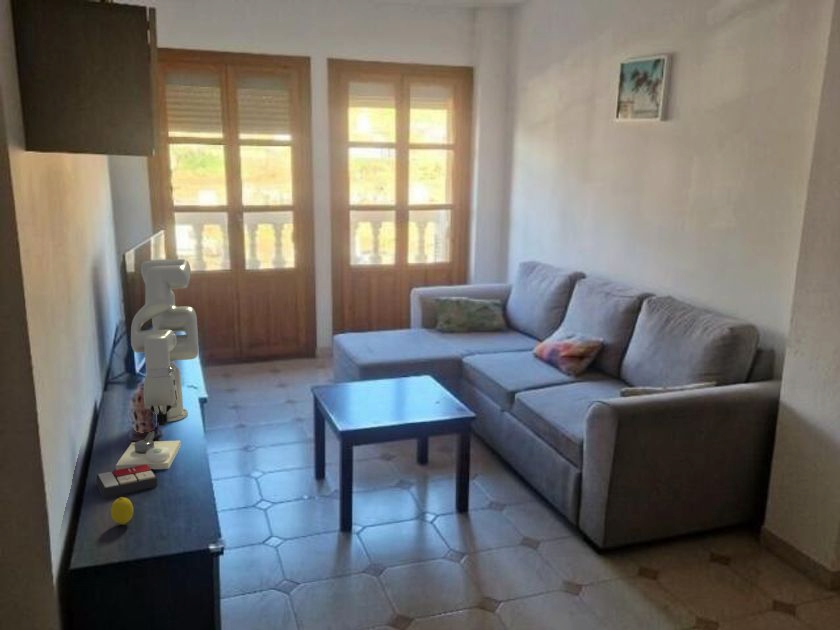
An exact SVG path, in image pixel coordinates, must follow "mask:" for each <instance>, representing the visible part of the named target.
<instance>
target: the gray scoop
mask: <svg viewBox="0 0 840 630" xmlns="http://www.w3.org/2000/svg"><path fill="white" fill-rule="evenodd" d="M154 436H155V430H152V432H150V431H149V432H148V433H147V435H146V436H145V437H144V439H141V440H138V441H136V443H135V444H134V445H135V452H136V453H139V454H144V453H146V452H147V451H148V450H149V449H152V448H154V442H155V441H154V439H155V437H154Z"/></svg>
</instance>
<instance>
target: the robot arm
mask: <svg viewBox="0 0 840 630" xmlns="http://www.w3.org/2000/svg"><path fill="white" fill-rule="evenodd" d="M191 269H192V268H191V265H190V262H189V261H188V260H187V259H182V258H181V259H179V258H176V259H153V260H146V261H144V262H142V264H141V266H140V272H141V276H142V280H143V282H144V285H145V296H144V297H145V299H144V300H145V303H144V305H143V306H142V307H141V308H139V310H138V311H137V312H136V313H135V315H134V317H133V319H132V322H131V327H130V329H131V330H130V345H131V349H132V351H134V352H135V353H137V354H144V360H145V372H146V373H145V374H146V375H145V376H144V379H143V380H144V381H143V403H144V407H143V408H144V409H146V410H151V411H152V412H153V413H155V414H157V421H156V422H157V423H158V426H159V427H161V426H165V425H166V424H167V423H169V422H170V423H171V422H176V421H180V420H183V419H184V418H186V417H187V416H189V415H188V414H189V412H188V410H187V409H186V408H184V401H183V388H182V376H181V374H182V373H181V370H180V368H179V366H178V365H177V364H176V363H175V361H189V360H194V359H196V358H197V357H198V355H199V352H200V350H199V349H200V348H199V333H198V318H197V317H198V316H197V313H196V311H195V309H194V308H193V307H192V306H188V305H187V306H186V305H183V306H182V305H181V306H177V305H176V297H175V296H176V295H175V293H174V291H173V290H174V289H175V290H177V289H179V290H180V289H187V288H188V287H189V284H190V280H191V279H190V278H191V272H192V271H191ZM150 320H151V322H152V328H153V329H147V330H145V329H144V330H141V329H142V327H143V325H145V323H147V322H148V321H150ZM180 332H181V333H182V332H183V333H185V334H175V333H180Z"/></svg>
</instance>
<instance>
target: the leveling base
mask: <svg viewBox="0 0 840 630" xmlns="http://www.w3.org/2000/svg"><path fill="white" fill-rule="evenodd" d="M136 442H137V441H136ZM136 442H131V443H130V444H129V446H128V447H127V449H126V450H125V451H124V453H123V454H122V455H121V457H120V459H119V460H118V461H117V463H116V464H115V470H119V469H124V468H130V467H135V466H140V465H146V464H147V465H148V466H149V467H150V469H153V470H169V469H170V467H171V465H172V463H173V461H174V460H175V458H176V456H177V455H178V452H179V451H178V450H180V449H181V447H182V443H181V440H161V441H160V440H159V441H157V440H155V441H154V448H152V449H149V450H148V451H147V452H146V453H144V454H139V453H136V452H135V445H134V444H135V443H136ZM180 446H181V447H180ZM179 448H180V449H179Z"/></svg>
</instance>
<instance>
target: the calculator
mask: <svg viewBox="0 0 840 630" xmlns="http://www.w3.org/2000/svg"><path fill="white" fill-rule="evenodd" d="M96 486H97V488H98V491H99V492H100V494H101V496H102V498H103V499H104V500H108V499H112V498H116V497H119V496H122V495H125V494H126V493H127V494H130V492H131V493H134V492H133V491H136V492H138V491H137V490H140V491H142V490H141V489H144V490H146V488H148V489H150V487H152V488H155V487H158V477H157V475H155V473H154V471H153V470H151V469H150V467H149V466H148V465H147V464H146V465H140V466H135V467H130V468H124V469H119V470H116V469H115V470H113V471H107V472H102V473H101V472H100V473H98V474H96Z"/></svg>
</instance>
